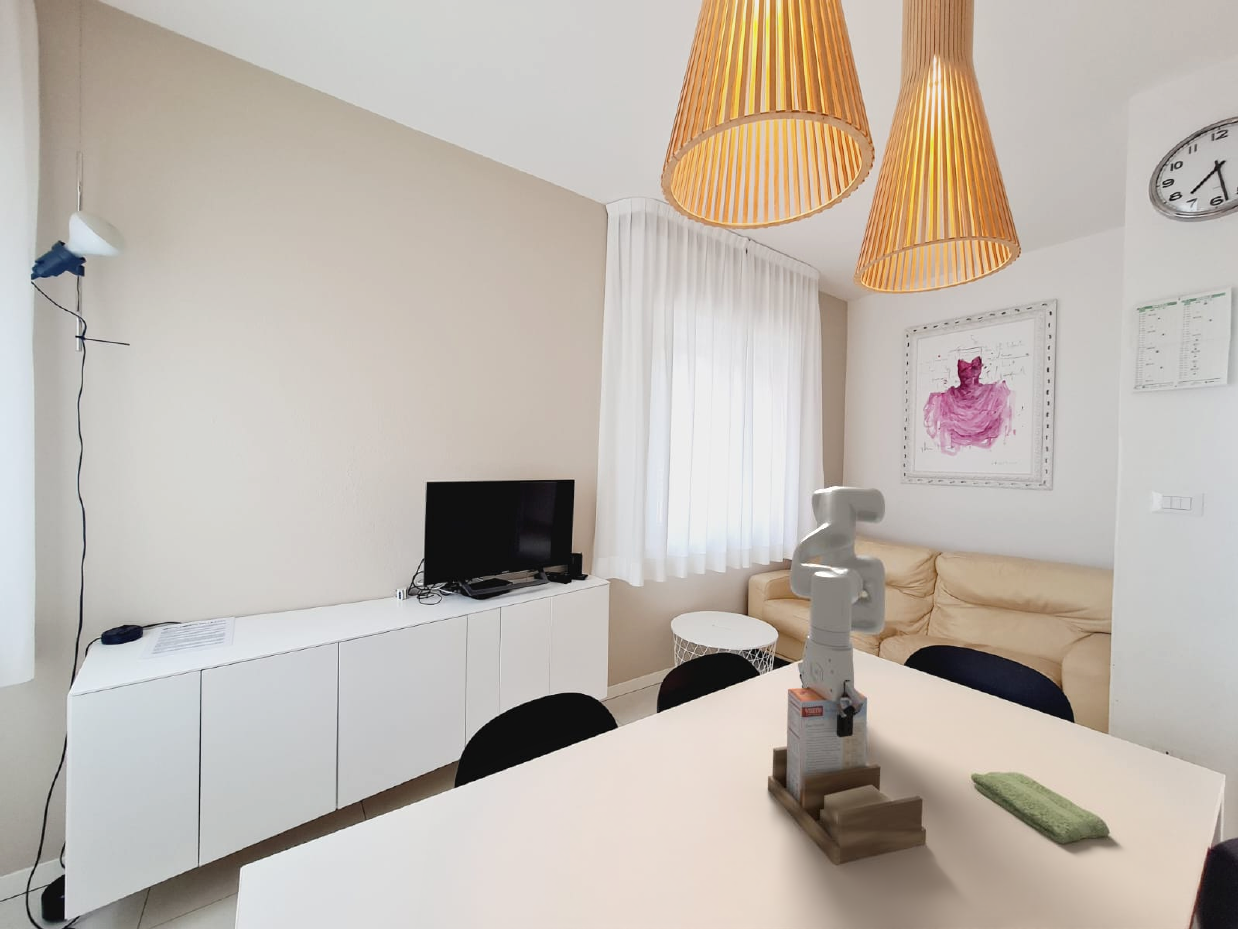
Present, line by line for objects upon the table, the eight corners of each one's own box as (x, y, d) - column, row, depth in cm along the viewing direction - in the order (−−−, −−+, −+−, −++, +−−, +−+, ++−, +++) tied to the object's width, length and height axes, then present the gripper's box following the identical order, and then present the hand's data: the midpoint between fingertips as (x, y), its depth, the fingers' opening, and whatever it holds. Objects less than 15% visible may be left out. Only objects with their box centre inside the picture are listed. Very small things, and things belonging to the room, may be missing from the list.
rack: (767, 788, 97) (769, 749, 97) (845, 775, 103) (846, 737, 103) (834, 865, 79) (836, 816, 79) (925, 843, 84) (927, 798, 84)
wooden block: (818, 825, 88) (819, 792, 88) (873, 816, 91) (874, 784, 91) (843, 853, 82) (844, 818, 82) (901, 842, 85) (902, 808, 85)
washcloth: (1014, 778, 104) (1015, 763, 104) (1114, 840, 87) (1114, 822, 87) (965, 785, 101) (966, 769, 102) (1059, 851, 84) (1059, 832, 84)
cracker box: (846, 785, 99) (849, 683, 99) (866, 805, 93) (869, 697, 94) (783, 790, 97) (787, 686, 97) (799, 811, 91) (803, 701, 91)
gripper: (786, 622, 103) (783, 703, 102) (845, 653, 86) (842, 749, 86) (816, 621, 105) (813, 700, 104) (879, 650, 88) (876, 744, 88)
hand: (826, 722), depth 95 cm, fingers open, 9 cm apart
